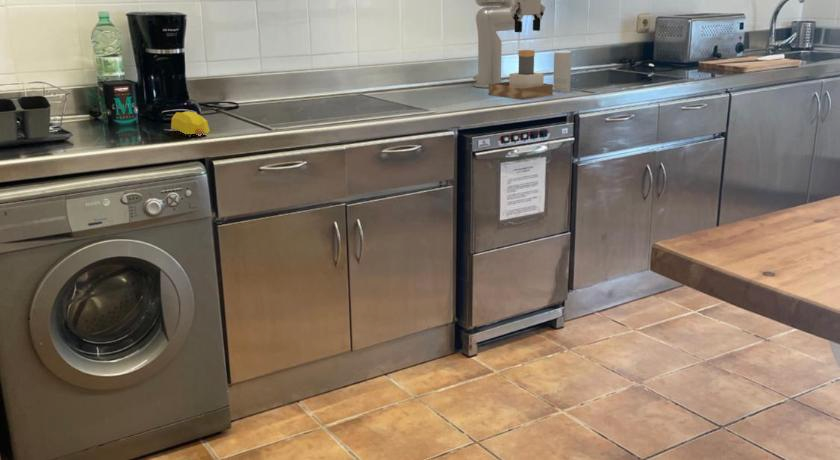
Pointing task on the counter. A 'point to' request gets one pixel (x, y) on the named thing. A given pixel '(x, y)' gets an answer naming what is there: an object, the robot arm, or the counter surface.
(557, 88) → the skincare box
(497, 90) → the crate
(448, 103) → the counter surface
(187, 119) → the yellow lump
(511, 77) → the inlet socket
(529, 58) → the square peg
